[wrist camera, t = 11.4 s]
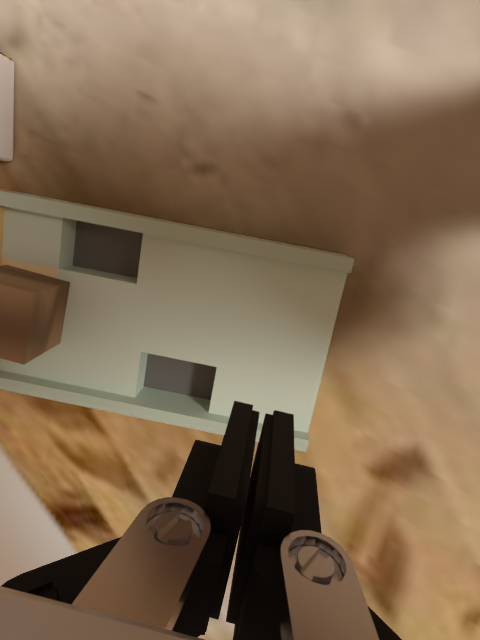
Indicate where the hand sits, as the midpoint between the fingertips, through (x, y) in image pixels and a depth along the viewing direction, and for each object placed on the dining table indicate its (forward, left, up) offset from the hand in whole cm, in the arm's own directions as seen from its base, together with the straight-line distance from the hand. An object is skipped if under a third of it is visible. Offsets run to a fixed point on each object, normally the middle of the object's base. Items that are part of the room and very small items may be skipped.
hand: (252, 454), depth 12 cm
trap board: (+3, -8, -23) cm, 24 cm away
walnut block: (+3, -17, -20) cm, 27 cm away
